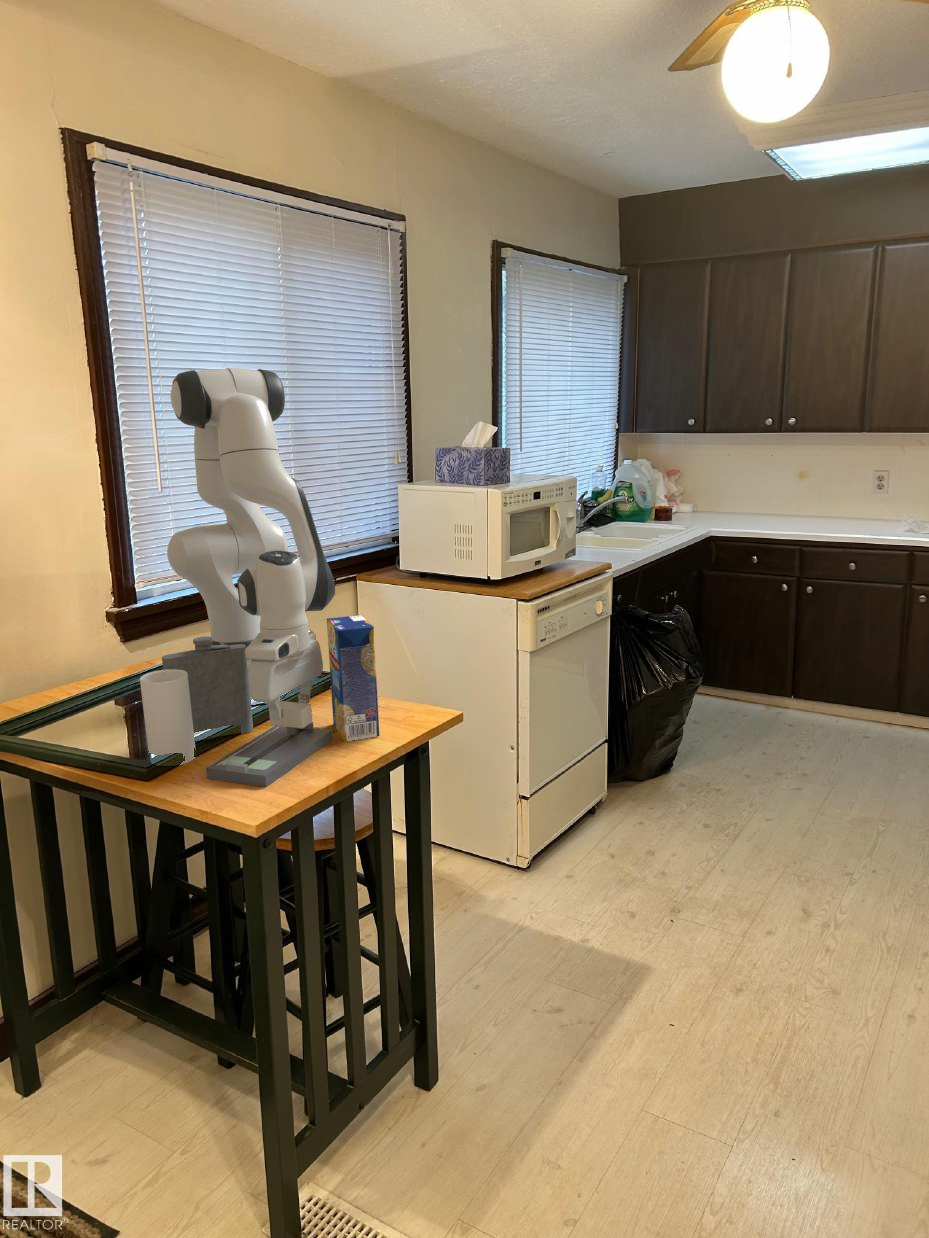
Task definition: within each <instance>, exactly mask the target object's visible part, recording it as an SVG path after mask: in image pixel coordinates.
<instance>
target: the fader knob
mask: <svg viewBox="0 0 929 1238" xmlns="http://www.w3.org/2000/svg"><path fill="white" fill-rule="evenodd" d="M278 704H279V706H280V708H281V709H283V710H284V713H283V714H284V717H283V718H282V719H280V720H273V719H272V717H271V711H270V709H269V708H268V713H269V725H270V726H275V725H277V726H285V727H287V734H294V733H296V732H297V728H304V727H306V726H307V725H309V724H310V723H312V722H313V711H312V703H307V704H306V703H299V702H292V701H284V700H280V702H278Z"/></svg>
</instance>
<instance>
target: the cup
mask: <svg viewBox="0 0 929 1238" xmlns="http://www.w3.org/2000/svg"><path fill="white" fill-rule="evenodd" d="M139 683H140V690H141V691H140V693H141V700H142V708H143V716H144V726H145V734H146V742H147V751H149V752H148V754H149V753H151V754H154V755H164V754H169V753H182V754H183V758H184V756H185V761H183V762H182V763H181V764H180V765H179V766H182V765H185V764H188V763H190V762H193V760H195V759H196V757H194V748H195V749H196V742H195V740H194V730H193V721H192V711H191V702H190V692H189V683H188V674H187V672H186V671H183V670H177V669H169V670H163V669H161V670H154V671H151V672H148V673H146V674H145V673H144V674H143V675H141V676H140V677H139Z"/></svg>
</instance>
